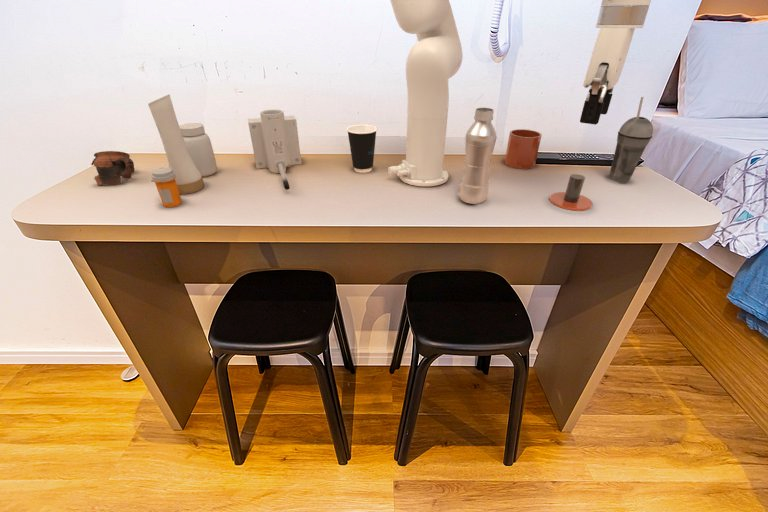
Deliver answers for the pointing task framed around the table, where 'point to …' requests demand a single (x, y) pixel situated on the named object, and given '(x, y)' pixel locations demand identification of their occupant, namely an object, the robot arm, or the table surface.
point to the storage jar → (522, 148)
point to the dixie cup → (362, 146)
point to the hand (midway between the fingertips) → (593, 118)
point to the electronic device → (275, 142)
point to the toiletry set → (180, 154)
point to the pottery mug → (112, 167)
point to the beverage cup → (630, 147)
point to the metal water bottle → (478, 157)
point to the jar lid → (572, 195)
